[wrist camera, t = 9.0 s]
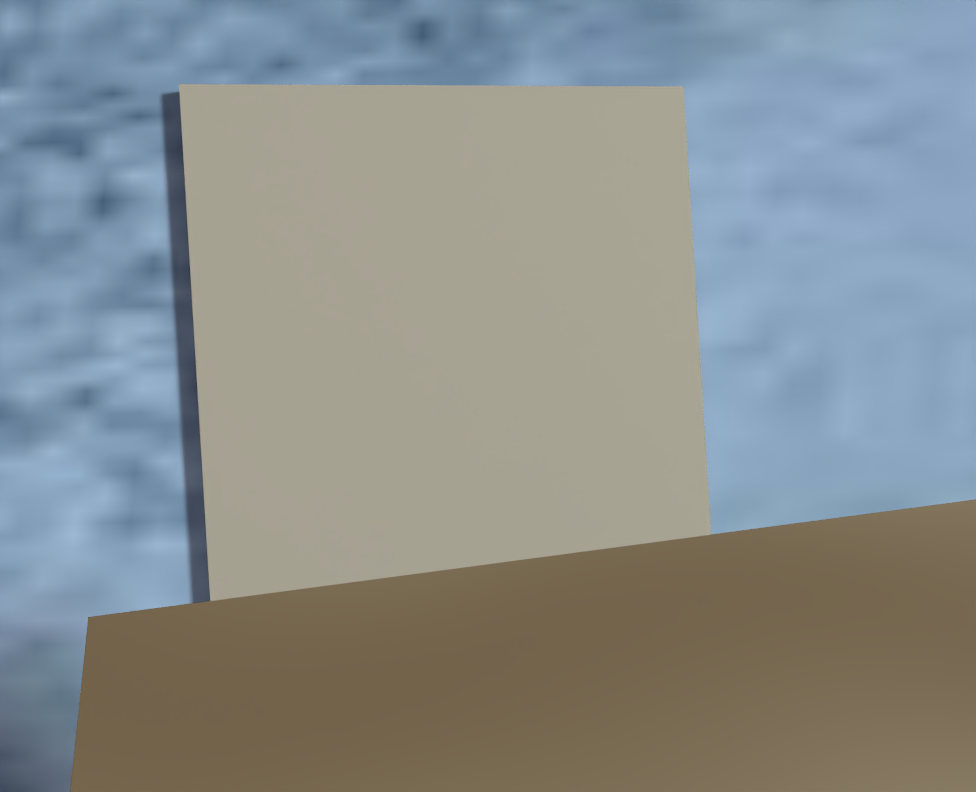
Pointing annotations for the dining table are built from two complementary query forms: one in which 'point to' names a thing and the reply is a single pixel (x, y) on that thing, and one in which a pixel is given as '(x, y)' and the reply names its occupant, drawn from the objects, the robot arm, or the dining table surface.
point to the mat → (439, 327)
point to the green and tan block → (565, 673)
